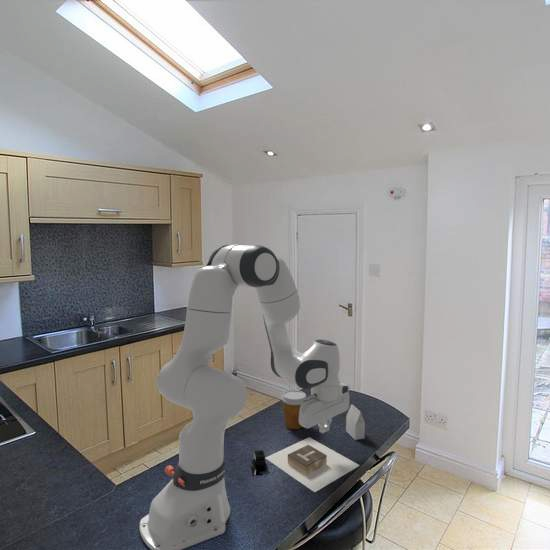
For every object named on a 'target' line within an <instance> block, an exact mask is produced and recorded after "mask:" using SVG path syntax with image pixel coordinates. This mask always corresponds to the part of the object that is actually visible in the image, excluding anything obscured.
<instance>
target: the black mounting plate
mask: <svg viewBox="0 0 550 550" xmlns="http://www.w3.org/2000/svg"><path fill="white" fill-rule="evenodd" d="M250 471H251V474H252V475H251V476H253V477H256V476H264V475H263V472H269V468H268V466H267V462H266V455H265V452H264V450H263V449H261V450H253V459H251V465H250Z"/></svg>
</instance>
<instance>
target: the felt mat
mask: <svg viewBox="0 0 550 550" xmlns="http://www.w3.org/2000/svg"><path fill="white" fill-rule="evenodd" d="M307 445H310V446H312V447H313V448H315V449H317V450H318V451H320V452H322V453H324V454H325V455H327V463H326V465H324V466H322V467H321V468H319V469H317V470H315V471H313V472H312V473H310V474H308V475H304V474H303V473H301V472H300V471H298V470H297V469H295V468H294V467H292V466H291V465H289V464H288V454H290V453H292V452H294V451H296V450H298V449H300V448H302V447H304V446H307ZM265 460H267V461H268V462H270V463H272V464H273V465H274V466H276V467H277V468H279V469H280V470H282V471H283V472H284V473H286V474H288V475H289V476H290V477H291V478H293V479H295V480H296V481H298V482H299V483H301V484H302V485H303V486H304V487H306V488H308V490H311V491H312V492H313V493H316V492H317V491H320V490H322V489H323V488H324V487H327V486H328V485H329V484H332V483H334V482H335V481H336V480H337V479H340V478H341V477H343V476H345V475H346V474H348V473H351V472H352V471H353V470H355V469H356V468H358V467H360V464H358V463H356V462H355V461H353V460H351V459H349V458H348V457H345V456H344V455H342V454H340V453H339V452H336V451H335V450H334V449H331V448H329V447H328V446H326V445H324V444H323V443H320V442H318V441H317V440H315V439H313V438H312V437H310V436H309V437H307V438H305V439H302V440H299V441H298V442H296V443H294V444H292V445H290V446H287V447H285V448H284V449H280V450H279V451H277V452H275V453H272V454H270V455H268V456H265Z"/></svg>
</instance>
